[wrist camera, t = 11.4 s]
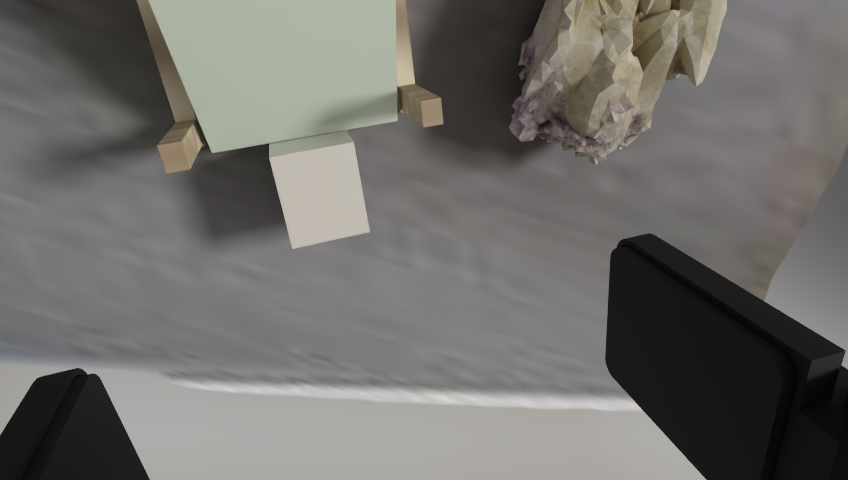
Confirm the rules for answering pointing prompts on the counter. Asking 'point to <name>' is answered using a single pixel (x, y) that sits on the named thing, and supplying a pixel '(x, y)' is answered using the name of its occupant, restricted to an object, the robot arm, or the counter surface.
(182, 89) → the frame
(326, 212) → the cube
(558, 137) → the geode
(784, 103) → the counter surface
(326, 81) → the trapdoor
